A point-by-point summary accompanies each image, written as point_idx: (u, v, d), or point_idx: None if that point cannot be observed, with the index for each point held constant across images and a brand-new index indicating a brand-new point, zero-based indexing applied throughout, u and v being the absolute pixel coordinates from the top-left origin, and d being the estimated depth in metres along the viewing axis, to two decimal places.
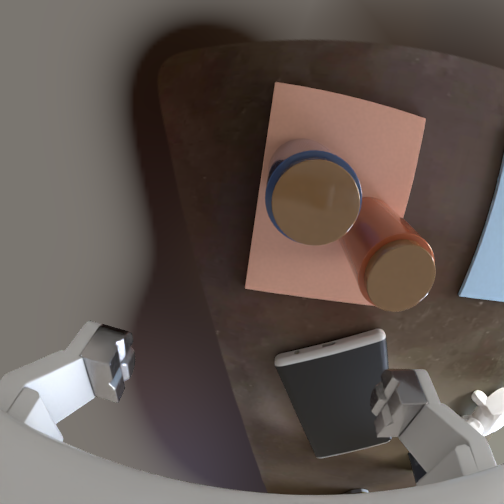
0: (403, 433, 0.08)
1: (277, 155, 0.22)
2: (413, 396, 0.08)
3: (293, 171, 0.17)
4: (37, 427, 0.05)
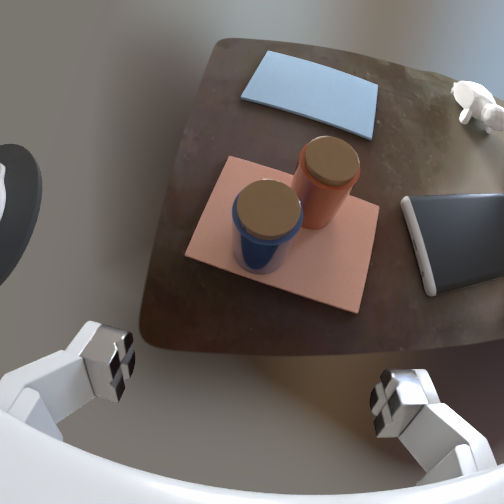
0: (403, 433, 0.08)
1: (238, 250, 0.30)
2: (413, 396, 0.08)
3: (242, 217, 0.25)
4: (37, 427, 0.05)
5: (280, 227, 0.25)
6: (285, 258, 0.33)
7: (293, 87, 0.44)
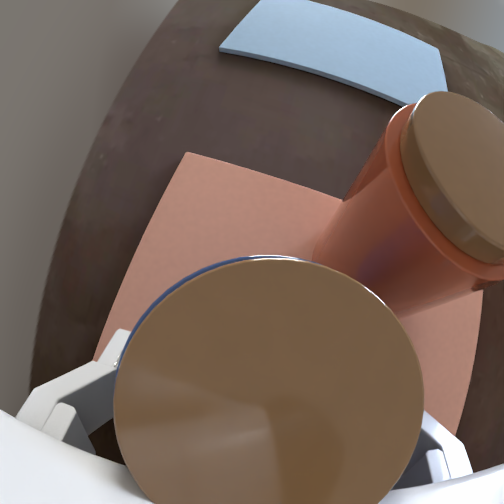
0: None
1: None
2: None
3: (142, 474, 0.04)
4: (73, 444, 0.05)
5: None
6: None
7: (312, 36, 0.23)
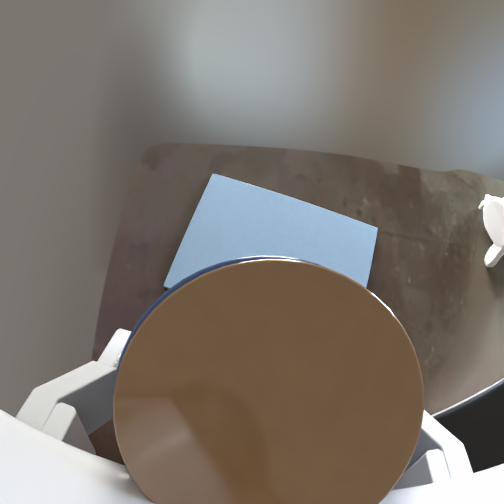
0: None
1: None
2: None
3: (142, 474, 0.04)
4: (73, 444, 0.05)
5: None
6: None
7: None
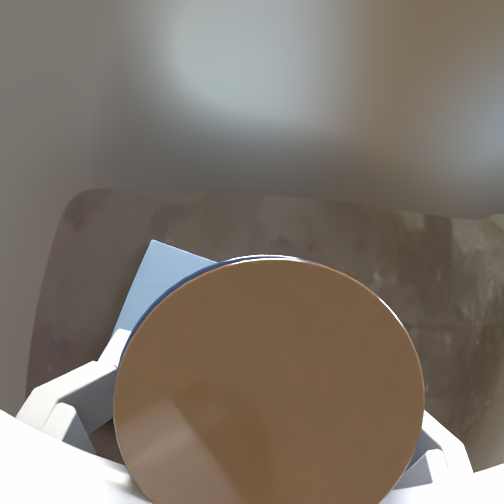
0: None
1: None
2: None
3: (142, 474, 0.04)
4: (73, 444, 0.05)
5: None
6: None
7: None
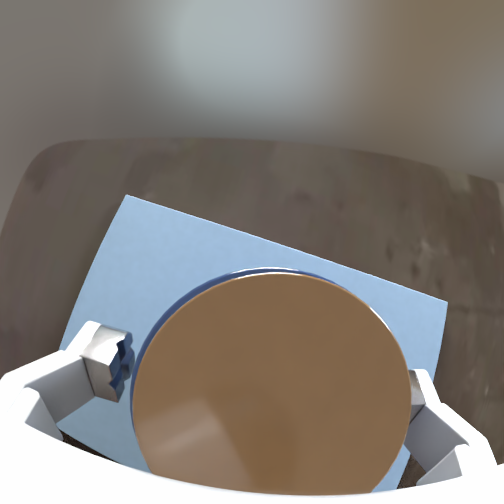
0: None
1: None
2: (413, 396, 0.08)
3: (159, 466, 0.04)
4: (37, 427, 0.05)
5: None
6: None
7: None
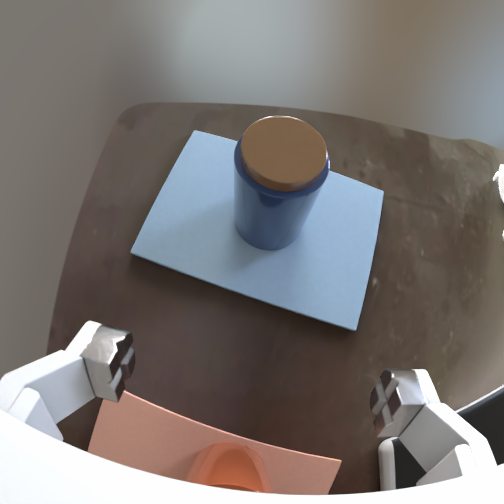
0: (403, 433, 0.08)
1: (241, 214, 0.23)
2: (413, 396, 0.08)
3: (249, 159, 0.18)
4: (37, 427, 0.05)
5: (301, 173, 0.17)
6: (301, 229, 0.26)
7: (224, 221, 0.27)
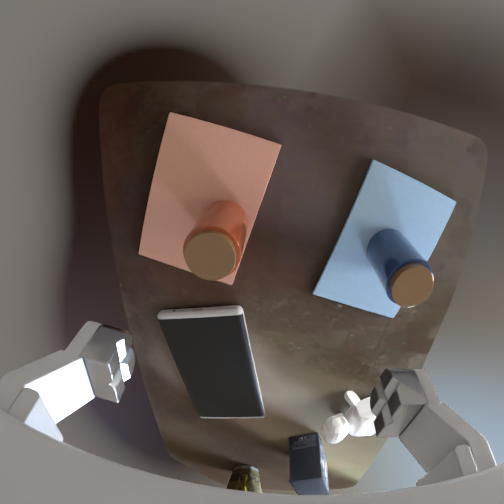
0: (403, 433, 0.08)
1: (387, 246, 0.35)
2: (413, 396, 0.08)
3: (409, 270, 0.30)
4: (37, 427, 0.05)
5: (396, 294, 0.31)
6: None
7: (388, 222, 0.38)
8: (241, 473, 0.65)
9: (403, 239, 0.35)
